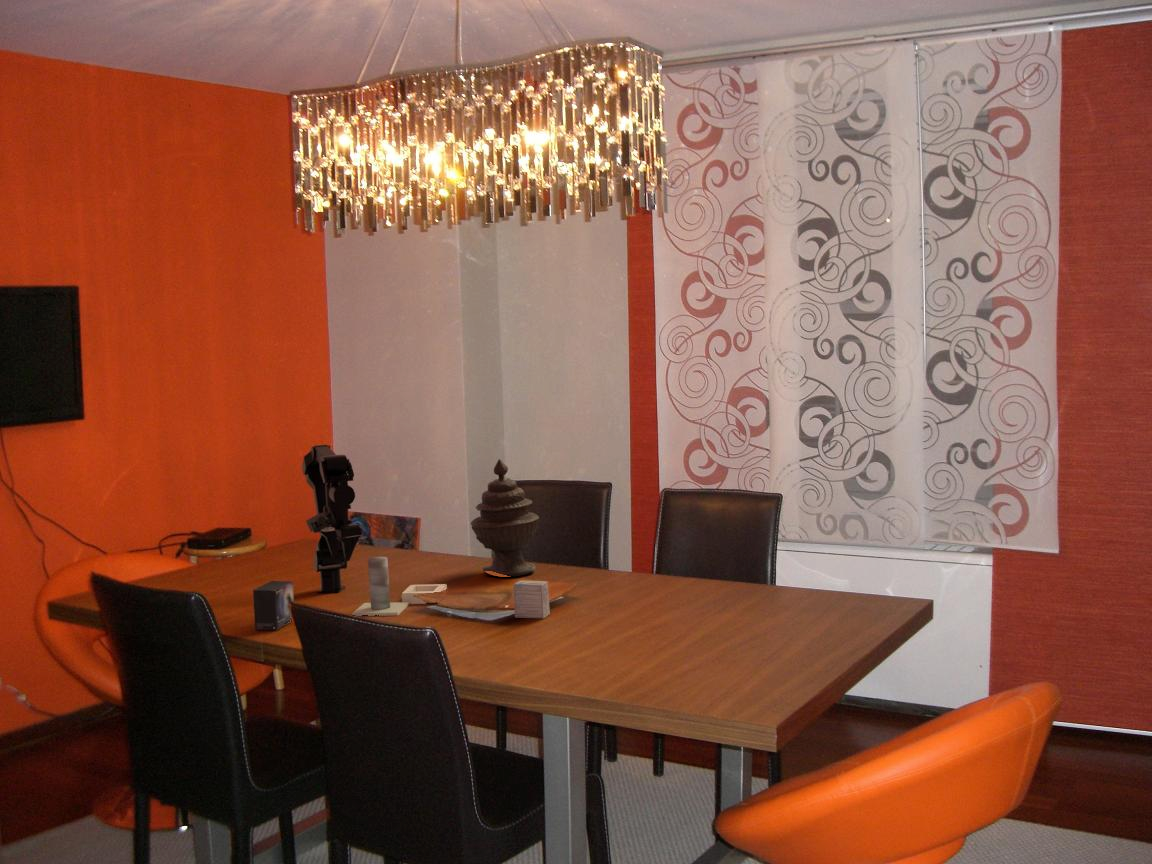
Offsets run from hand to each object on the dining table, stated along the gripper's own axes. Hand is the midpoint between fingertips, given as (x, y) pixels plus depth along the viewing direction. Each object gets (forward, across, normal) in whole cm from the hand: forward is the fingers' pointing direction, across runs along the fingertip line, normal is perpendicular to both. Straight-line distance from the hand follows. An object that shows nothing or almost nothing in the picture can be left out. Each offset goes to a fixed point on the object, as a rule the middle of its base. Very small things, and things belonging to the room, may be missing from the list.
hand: (340, 558), depth 309 cm
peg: (+11, +17, +3) cm, 20 cm away
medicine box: (+12, +50, +29) cm, 59 cm away
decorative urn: (+12, +2, +51) cm, 53 cm away
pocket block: (+12, +14, +18) cm, 26 cm away
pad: (+12, +17, +3) cm, 21 cm away
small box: (+12, +12, -23) cm, 29 cm away
